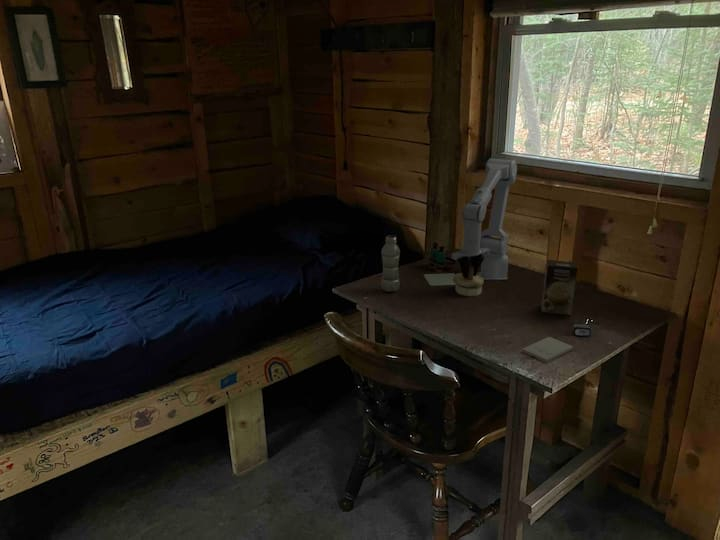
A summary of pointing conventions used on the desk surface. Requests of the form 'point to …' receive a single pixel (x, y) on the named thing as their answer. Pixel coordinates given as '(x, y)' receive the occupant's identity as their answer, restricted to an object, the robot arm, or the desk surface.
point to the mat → (440, 279)
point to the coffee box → (559, 287)
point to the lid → (468, 279)
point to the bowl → (468, 290)
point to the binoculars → (439, 259)
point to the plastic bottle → (390, 265)
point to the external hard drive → (547, 349)
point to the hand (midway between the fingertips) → (469, 276)
